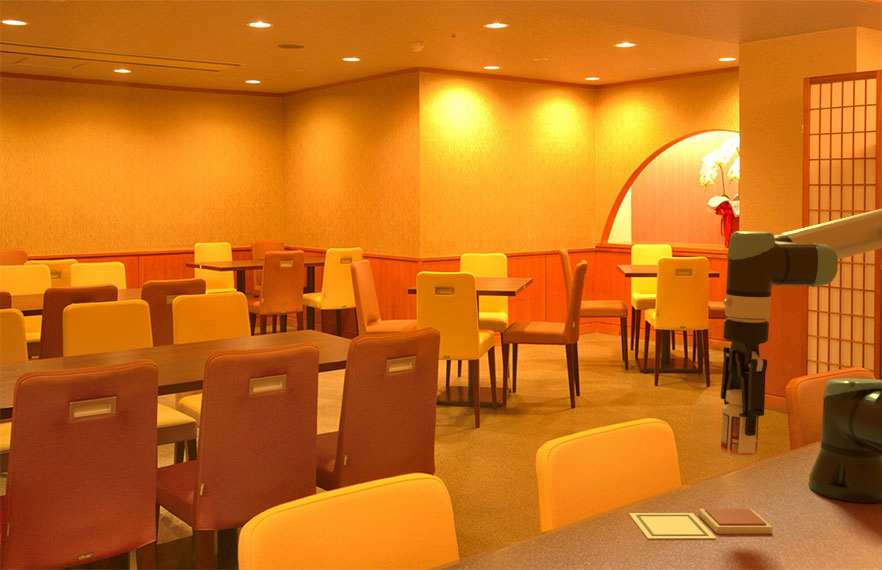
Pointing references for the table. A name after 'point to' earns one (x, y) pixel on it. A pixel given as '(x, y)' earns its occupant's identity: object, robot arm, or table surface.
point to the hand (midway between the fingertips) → (738, 446)
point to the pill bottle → (733, 426)
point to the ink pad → (735, 521)
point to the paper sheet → (671, 526)
